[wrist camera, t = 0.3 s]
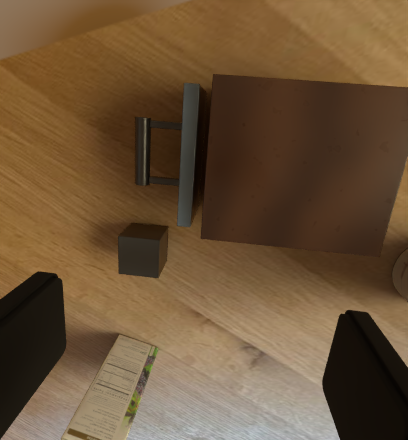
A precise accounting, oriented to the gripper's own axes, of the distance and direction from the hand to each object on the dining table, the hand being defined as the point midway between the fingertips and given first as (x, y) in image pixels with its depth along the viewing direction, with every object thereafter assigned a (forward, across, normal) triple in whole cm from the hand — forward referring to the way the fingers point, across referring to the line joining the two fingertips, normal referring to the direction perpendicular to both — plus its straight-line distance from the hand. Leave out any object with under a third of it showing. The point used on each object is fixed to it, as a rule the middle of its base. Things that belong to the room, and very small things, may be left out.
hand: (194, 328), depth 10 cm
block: (+24, +8, +7) cm, 26 cm away
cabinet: (+24, -6, -4) cm, 25 cm away
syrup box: (+24, +10, +24) cm, 36 cm away
